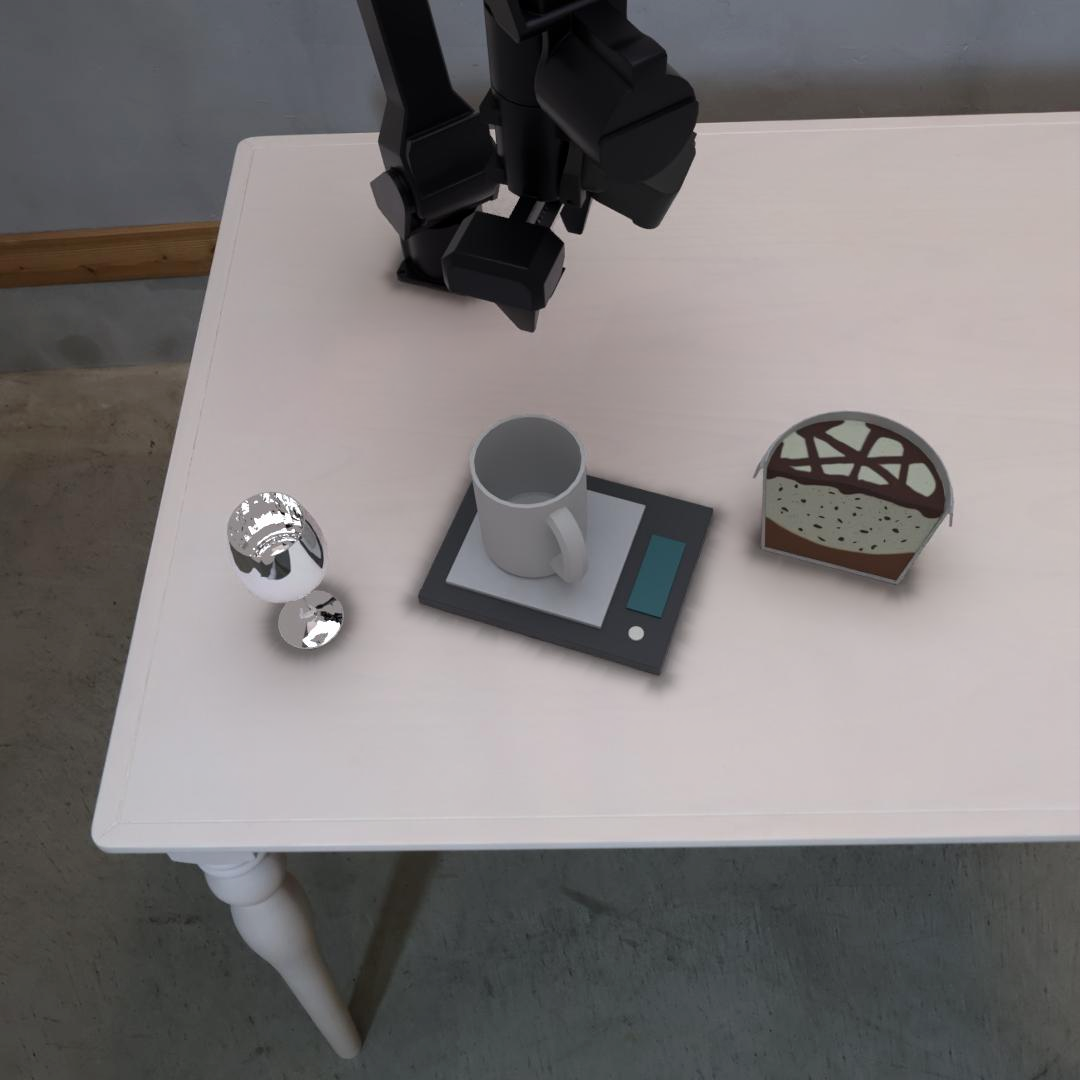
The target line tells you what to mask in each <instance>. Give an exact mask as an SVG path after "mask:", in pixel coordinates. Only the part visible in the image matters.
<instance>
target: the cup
mask: <svg viewBox="0 0 1080 1080" xmlns="http://www.w3.org/2000/svg"><path fill="white" fill-rule="evenodd" d="M469 467H470V474H471V482H472V481H473V487H474V493H475V498H476V504H477V510H478V516H479V522H480V528H481V533H482V539H483V543H484V546H485V548H486V550H487V552H488V555H489V557H490V558H491V559H492V560H493V561H494V562H495V563H496V564H497V565H498V566H499V567H501V568H502V569H504V570H505V571H507V572H509V573H512V574H515V575H518V576H521V577H531V578H537V577H544V576H549V575H552V574H555V573H557V574H558V575H559V576H560V577H561V578H562V579H563V580H564V581H566V582H568V583H573V582H579V581H581V580H582V578H583V577H584V576H585V575H586V573H587V571H588V556H587V550H586V545H585V541H586V533H587V485H586V475H587V456H586V450H585V446H584V444H583V442H582V441H581V439H580V437H579V435H578V433H576V432H575V431H574V430H573V429H572V427H570V425H568V424H566V423H564V422H563V421H561V420H559V419H557V418H555V417H551V416H549V415H545V414H538V413H523V414H515V415H511V416H508V417H506V418H503V419H499V420H498V421H496V422H495V423H493V424H491V425H490V426H489V427H487V428H486V429H485V430H484V431H483V432H482V433H481V434H480V435H479V436H478V437H477V440H476V441H475V443H474V445H473V447H472V449H471V453H470V457H469Z"/></svg>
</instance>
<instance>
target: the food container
mask: <svg viewBox="0 0 1080 1080" xmlns="http://www.w3.org/2000/svg"><path fill="white" fill-rule="evenodd" d="M761 469H762V497H761V498H762V499H761V500H762V503H761V532H760V533H761V535H760V537H761V538H760V543H761V544H760V550H762V551H766V552H769V553H773V554H778V555H782V556H786V557H789V558H792V559H797V560H800V561H804V562H808V563H813V564H817V565H820V566H824V567H828V568H831V569H836V570H839V571H844V572H847V573H851V574H855V575H859V576H863V577H867V578H870V579H874V580H878V581H882V582H886V583H890V584H893V585H899V584H900V583H901V581H902V580H903V579H904V577H905V576H906V574H907V573H908V572H909V570H910V569H911V568H912V566H913V564H914V563H915V561H916V560H917V559H918V557H919V556H920V554H922V552H923V550H924V549H925V547H926V546H927V544H928V543H929V541H930V540H931V538H932V537H933V536H934V534H935V533H936V531H937V530H938V529H939V527H940V526H941V524H942V523H943V521H945V518H946V517H948V515H949V521H948V522H949V523H948V527H949V528H951V527H953V520H954V509H955V507H954V506H955V497H954V488H953V486H952V481H951V477H950V474H949V472H948V470H947V468H946V465H945V464H944V461H943V460H942V457H940V455H939V453H937V451H936V450H935V448H934V447H933V446H931V444H930V443H929V442H928V441H927V440H926V439H925V438H924V437H922V436H921V435H919V434H918V433H917V432H916V431H914V430H913V429H911V428H910V427H908V426H906V425H904V424H903V423H901V422H898V421H896V420H894V419H891V418H889V417H887V416H883V415H880V414H877V413H873V412H866V411H861V410H836V411H835V410H834V411H833V410H832V411H828V412H822V413H818V414H814V415H812V416H809V417H806V418H804V419H802V420H800V421H798V422H796V423H794V424H792V425H791V426H790V427H789V428H787V429H786V430H785V431H783V432H782V433H781V434H780V435H778V437H777V438H776V439H775V440H774V441H773V442H772V443H771V444H770V445H769V447H768V449H767V450H766V451H765V452H764V455H763V456H762V458H761V460H760V461H759V463H758V465H757V466H756V469H755V471H754V473H753V476H752V479H756V478H757V477H758V475H759V473H760V472H761Z"/></svg>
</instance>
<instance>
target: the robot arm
mask: <svg viewBox="0 0 1080 1080" xmlns="http://www.w3.org/2000/svg"><path fill="white" fill-rule="evenodd" d="M355 1H356V5H357V7H358V10H359V15H360V16H361V17H360V18H361V20H362V24H363V26H364V29H365V32H366V36H367V39H368V42H369V45H370V48H371V52H372V55H373V58H374V61H375V64H376V65H375V66H376V68H377V70H378V75H379V78H380V81H381V84H382V87H383V91H384V93H385V97H386V98H385V99H386V103H385V108H384V110H383V116H382V119H381V124H380V129H379V133H378V138H377V144H378V147H379V148H378V149H379V151H380V156H381V159H382V163H383V166H384V171H383V172H381V173H380V174H379V175H378V176H376V177H374V179H372V181H370V182H369V186H370V190H371V193H372V195H373V198H374V201H375V204H376V206H377V209H378V210H379V211H380V213H381V214H382V215H383V216H384V217H385V219H386V220H387V222H388V223H389V224H390V226H392V228H393V229H394V230H395V232H396V234H398V236H399V241H400V247H401V251H402V255H403V256H402V257H403V260H402V261H401V262H400V265H399V267H398V268H397V270H396V277H397V279H398V280H399V281H402V282H407V283H411V284H416V285H419V286H423V287H427V288H433V289H436V290H440V291H445V292H449V293H453V294H456V295H457V294H458V295H462V296H465V297H470V298H474V299H478V300H483V301H484V302H485V301H486V302H490V303H494V304H495V305H496V306H497V307H498V308H499V310H501V312H502V313H503V314H504V315H505V316H506V317H507V318H508V319H509V321H511V322H512V324H513V325H514V326H515V327H516V328H517V329H518V330H520V331H523V332H527V333H531V334H533V333H535V331H536V329H537V325H538V321H539V316H540V311H541V310H542V309H545V308H546V307H547V306H548V303H549V301H550V300H551V298H552V297H553V296H554V294H555V291H556V289H557V287H558V285H559V283H560V281H561V279H562V277H563V275H564V273H565V271H566V267H564V263H565V260H566V259H565V258H566V249H565V247H566V246H565V245H566V244H565V242H564V241H563V240H562V239H561V238H560V237H559V235H557V234H556V233H555V232H554V231H553V228H554V226H555V224H556V222H557V220H558V218H559V217H560V218H561V221H562V223H563V226H564V228H565V230H566V232H568V233H569V234H574V235H577V236H578V235H579V236H581V235H582V234H583V233H584V231H585V228H586V225H587V221H588V218H589V214H590V210H591V207H592V205H593V200H594V201H595V202H597V203H599V204H600V205H603V206H605V207H607V208H608V209H611V210H612V211H614V212H616V213H618V214H620V215H621V216H624V217H626V218H627V219H629V220H631V221H632V224H634V225H636V226H637V227H639V228H642V229H645V230H654V229H657V228H658V227H659V226H660V225H661V223H662V221H663V220H664V218H665V216H666V215H667V213H668V211H669V210H670V207H671V206H672V205H673V203H674V201H675V199H676V198H677V196H678V194H679V193H680V191H681V189H682V187H683V185H684V183H685V180H686V178H687V176H688V173H689V171H690V170H691V167H692V165H693V162H694V160H695V158H696V155H697V149H696V144H697V143H696V139H697V135H698V133H697V132H695V131H694V130H695V128H696V126H697V121H698V116H699V113H700V103H699V101H698V100H697V97H696V93H695V89H694V88H693V86H692V85H691V84H690V82H689V81H688V80H687V79H686V78H685V77H684V76H683V75H682V74H681V73H679V72H678V71H677V70H676V69H675V68H674V67H673V66H672V65H671V64H670V63H669V62H668V53H667V50H666V49H665V48H664V47H663V46H662V45H661V44H659V42H657V41H656V40H655V39H654V38H653V37H652V36H650V35H648V34H646V33H644V32H642V31H641V30H640V29H639V28H638V27H637V26H635V24H633V23H632V22H631V21H630V20H629V19H628V0H482V3H483V15H484V25H485V26H484V27H485V37H486V48H487V59H488V69H489V81H490V88H489V89H488V91H487V93H486V94H485V96H484V98H483V99H482V101H481V103H480V104H479V106H478V111H476V109H474V108H473V107H472V106H471V105H470V104H469V103H468V102H467V101H466V100H465V99H464V98H463V97H462V96H461V95H459V93H458V92H457V91H456V90H455V89H454V88H453V85H452V82H451V78H450V74H449V70H448V66H447V63H446V60H445V57H444V52H443V49H442V45H441V41H440V38H439V34H438V31H437V27H436V24H435V20H434V16H433V12H432V9H431V6H430V2H429V0H355ZM490 125H493V126H494V134H495V139H494V138H493V136H492V135H491V129H490ZM501 185H504V186H507V190H508V191H509V192H510V193H512V194H513V195H514V196H517V197H519V198H518V200H517V201H516V204H515V205H514V207H513V209H512V211H511V213H510V215H509V217H506V216H502V215H497V214H494V213H488V212H485V211H484V209H483V204H486V203H488V202H489V201H491V202H493V201H495V200H498V198H499V193H500V187H501Z"/></svg>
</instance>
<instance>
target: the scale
mask: <svg viewBox="0 0 1080 1080" xmlns="http://www.w3.org/2000/svg"><path fill="white" fill-rule="evenodd" d="M586 485H587V533H586V541H585V545H586V550H587V556H588V571H587V573H586V575H585V576H584V577H583V578H582V580H581V581H579V582H573V583H568V582H566V581H564V580H563V579H562V578H561V577H560V576H559V575H558V574H557V573H555V574H552V575H549V576H544V577H537V578H531V577H521V576H518V575H515V574H512V573H509V572H507V571H505V570H504V569H502V568H501V567H499V566H498V565H497V564H496V563H495V562H494V561H493V560H492V559H491V558H490V557H489V555H488V552H487V550H486V548H485V546H484V543H483V539H482V533H481V528H480V522H479V516H478V510H477V504H476V498H475V493H474V487H473V481H472V480H471V481H470V484H469V486H468V488H467V489H466V492H465V494H464V496H463V498H462V501H461V503H460V505H459V507H458V509H457V511H456V514H455V516H454V518H453V520H452V522H451V524H450V526H449V528H448V530H447V532H446V535H445V537H444V539H443V541H442V544H441V545H440V547H439V550H438V552H437V554H436V556H435V559H434V560H433V563H432V564H431V567H430V569H429V571H428V573H427V575H426V577H425V579H424V582H423V584H422V586H421V588H420V590H419V592H418V594H417V599H418V602H419V603H420V604H422V605H426V606H429V607H432V608H435V609H439V610H442V611H446V612H449V613H452V614H455V615H458V616H461V617H465V618H469V619H471V620H474V621H475V620H476V621H479V622H482V623H485V624H488V625H492V626H494V627H495V626H496V627H497V628H501V629H506V630H508V631H510V632H511V631H512V632H515V633H517V634H522V635H525V636H527V637H532V638H535V639H538V640H541V641H544V642H548V643H551V644H555V645H558V646H561V647H564V648H568V649H571V650H575V651H578V652H580V653H584V654H588V655H591V656H594V657H597V658H600V659H603V660H607V661H611V662H614V663H617V664H620V665H624V666H627V667H630V668H633V669H636V670H637V669H638V670H641V671H644V672H647V673H650V674H653V675H657V676H659V675H661V673H662V669H663V666H664V664H665V663H664V662H665V660H666V657H667V654H668V652H669V648H670V645H671V642H672V640H673V636H674V633H675V630H676V627H677V624H678V622H679V618H680V615H681V612H682V610H683V607H684V604H685V599H686V597H687V594H688V591H689V588H690V585H691V582H692V579H693V576H694V573H695V571H696V568H697V564H698V561H699V558H700V554H701V552H702V549H703V546H704V543H705V540H706V537H707V534H708V531H709V529H710V525H711V522H712V519H713V515H714V508H713V507H709V506H706V505H703V504H698V503H695V502H691V501H688V500H683V499H680V498H676V497H672V496H668V495H665V494H660V493H657V492H653V491H651V490H646V489H642V488H639V487H633V486H631V485H628V484H627V485H626V484H624V483H618V482H616V481H612V480H609V479H604V478H601V477H598V476H593V475H589V474H586Z"/></svg>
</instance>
